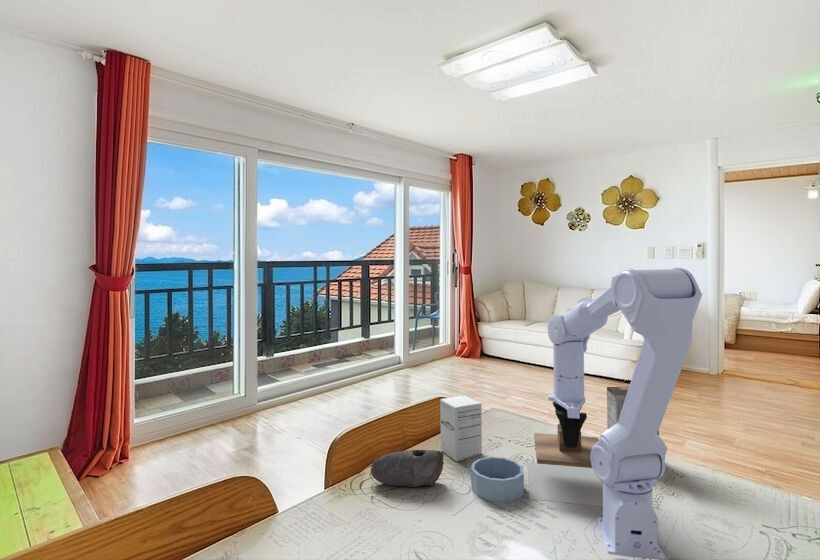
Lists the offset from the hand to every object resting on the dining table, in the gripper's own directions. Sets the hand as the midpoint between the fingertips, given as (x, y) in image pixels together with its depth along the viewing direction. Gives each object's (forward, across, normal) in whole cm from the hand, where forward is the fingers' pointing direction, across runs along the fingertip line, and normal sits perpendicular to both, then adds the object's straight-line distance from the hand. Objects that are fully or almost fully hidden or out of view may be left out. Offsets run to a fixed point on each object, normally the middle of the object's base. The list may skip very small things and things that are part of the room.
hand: (569, 442), depth 89 cm
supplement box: (+9, -11, -23) cm, 27 cm away
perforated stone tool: (+9, +6, -32) cm, 34 cm away
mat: (+9, 0, 0) cm, 9 cm away
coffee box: (+9, -14, +15) cm, 22 cm away
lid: (+2, 0, 0) cm, 2 cm away
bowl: (+9, +5, -14) cm, 17 cm away
